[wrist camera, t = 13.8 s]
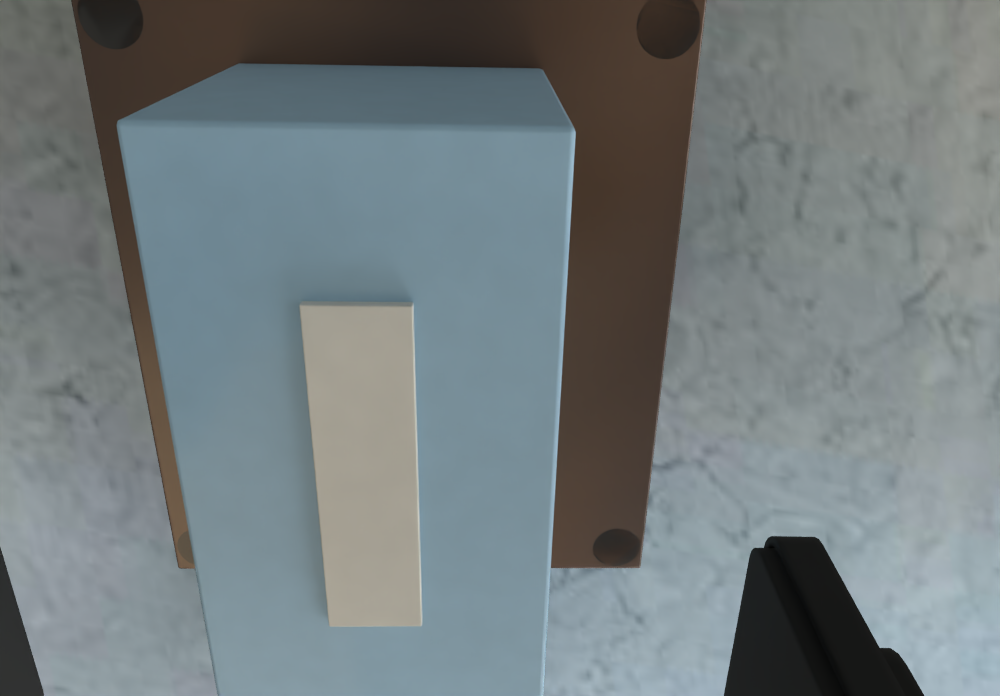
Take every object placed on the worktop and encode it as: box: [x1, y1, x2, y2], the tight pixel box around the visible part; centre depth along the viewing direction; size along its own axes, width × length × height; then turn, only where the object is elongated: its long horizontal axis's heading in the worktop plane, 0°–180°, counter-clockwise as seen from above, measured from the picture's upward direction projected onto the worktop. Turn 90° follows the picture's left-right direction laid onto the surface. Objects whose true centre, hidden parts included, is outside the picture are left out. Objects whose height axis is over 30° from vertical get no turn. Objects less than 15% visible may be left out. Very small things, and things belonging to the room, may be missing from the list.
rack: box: [71, 0, 707, 568], centre depth 23 cm, size 12×14×10 cm
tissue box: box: [117, 63, 576, 696], centre depth 16 cm, size 6×11×6 cm, turn 179°
